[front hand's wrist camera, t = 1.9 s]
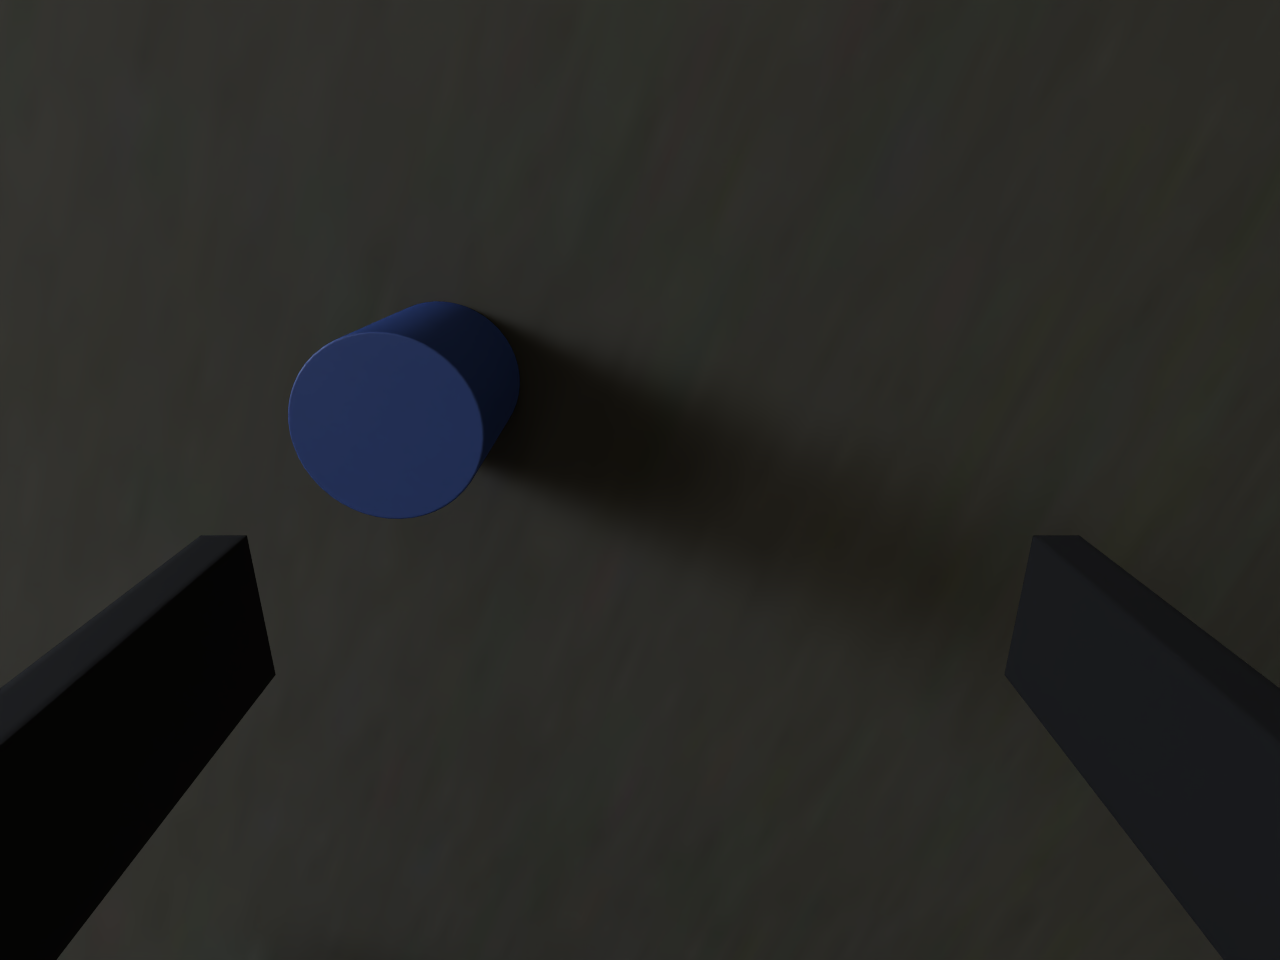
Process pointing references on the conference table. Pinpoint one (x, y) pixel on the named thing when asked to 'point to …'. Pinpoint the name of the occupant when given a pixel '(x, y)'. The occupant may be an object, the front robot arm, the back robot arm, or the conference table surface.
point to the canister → (404, 409)
